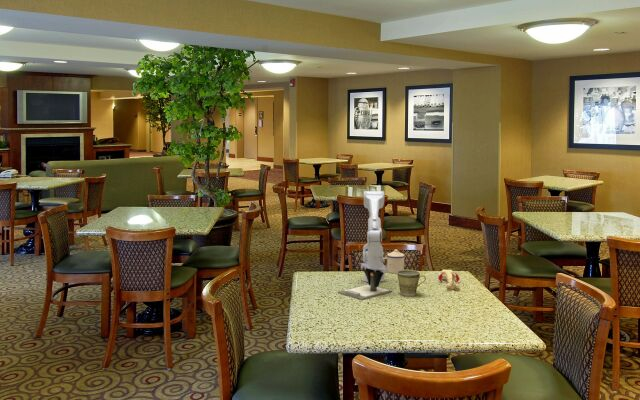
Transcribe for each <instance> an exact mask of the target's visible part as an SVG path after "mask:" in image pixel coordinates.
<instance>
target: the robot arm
mask: <svg viewBox="0 0 640 400" xmlns="http://www.w3.org/2000/svg"><path fill="white" fill-rule="evenodd" d="M384 204H385V191H384V190H379V191H378V190H364V191H363V206H364V208H365V209H367V210H368V219H367V227H368V229H367V235H366V236H367V237H366V238H367V239H366V241H367V243H365V244H364V245H363V247H362V261H363V262H362V263H360V269H361V268H362V269H364V270H363V272H364V275H365V276H364V278H361V281H362V282H367V284H369V285H370V274H371V272H373V276H374V286H375V287H380V283H381V282H383V281H386V278H385V274H387V273H389V272H388V268H387V267H384V265H385V264H384V263H382V262H384V260H383V258H384V247H383V245H382V242H383V230H382V226H381V225H382V221H381V218H380V217H379V210H380V209H382V208H384Z"/></svg>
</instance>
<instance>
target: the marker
mask: <svg viewBox="0 0 640 400" xmlns="http://www.w3.org/2000/svg"><path fill="white" fill-rule="evenodd" d="M370 291H377V287H375V286H374V276H373V272H371V274H370Z"/></svg>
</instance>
